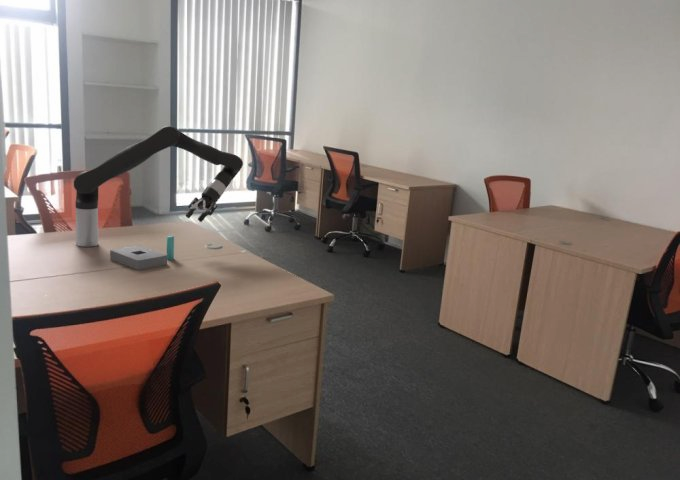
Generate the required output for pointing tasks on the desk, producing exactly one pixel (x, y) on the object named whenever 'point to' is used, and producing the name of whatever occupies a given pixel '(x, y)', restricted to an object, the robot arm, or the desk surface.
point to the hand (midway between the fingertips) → (193, 218)
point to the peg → (170, 247)
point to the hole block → (138, 257)
